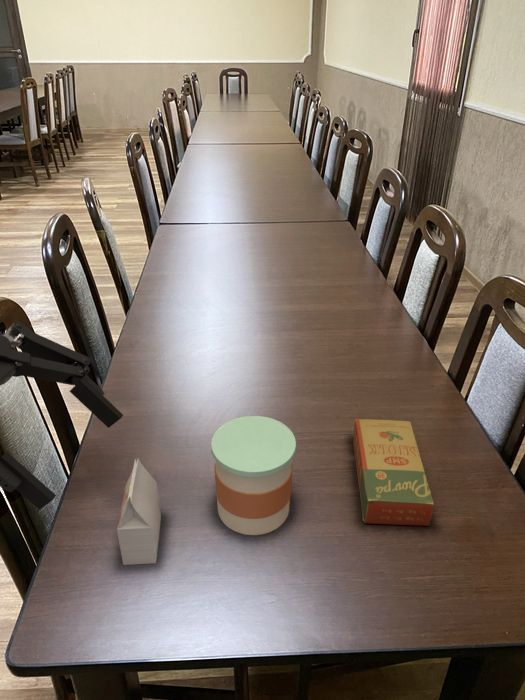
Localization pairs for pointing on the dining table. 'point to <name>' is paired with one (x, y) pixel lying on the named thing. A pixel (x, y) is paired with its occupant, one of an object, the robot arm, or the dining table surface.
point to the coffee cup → (253, 473)
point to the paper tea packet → (139, 518)
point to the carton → (391, 474)
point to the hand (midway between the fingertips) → (85, 458)
